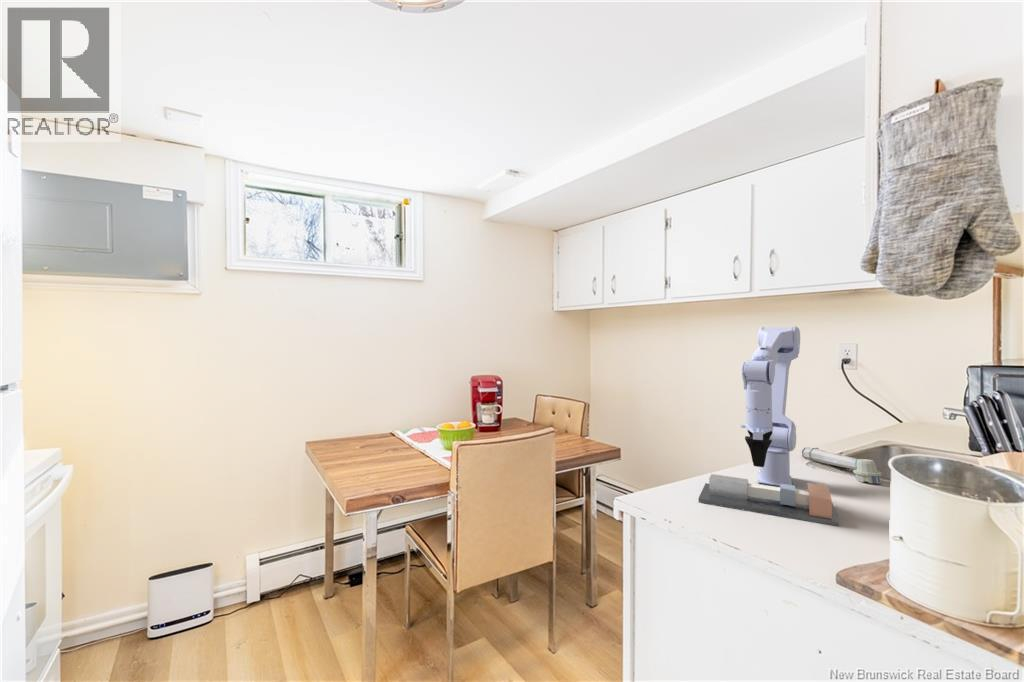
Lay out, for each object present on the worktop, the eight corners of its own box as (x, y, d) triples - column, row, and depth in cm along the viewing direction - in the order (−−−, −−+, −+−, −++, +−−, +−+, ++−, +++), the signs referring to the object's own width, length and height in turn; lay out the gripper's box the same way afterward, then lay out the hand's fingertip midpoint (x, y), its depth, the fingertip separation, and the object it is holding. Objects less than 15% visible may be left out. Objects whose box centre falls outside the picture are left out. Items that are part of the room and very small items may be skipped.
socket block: (807, 499, 106) (807, 482, 106) (827, 502, 104) (827, 485, 104) (809, 515, 98) (809, 496, 98) (831, 518, 96) (831, 499, 95)
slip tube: (741, 492, 111) (740, 478, 111) (817, 503, 103) (817, 488, 102) (739, 497, 108) (739, 483, 107) (819, 510, 99) (818, 494, 99)
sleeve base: (705, 486, 119) (705, 468, 119) (832, 506, 104) (832, 485, 104) (698, 502, 109) (698, 482, 109) (837, 526, 94) (837, 503, 94)
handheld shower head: (814, 446, 142) (884, 457, 118) (816, 467, 142) (887, 483, 117) (799, 446, 142) (866, 458, 117) (801, 467, 141) (869, 484, 117)
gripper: (742, 402, 117) (743, 452, 118) (738, 412, 105) (739, 467, 105) (773, 404, 114) (773, 456, 114) (772, 414, 101) (773, 472, 102)
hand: (759, 462), depth 109 cm, fingers open, 7 cm apart
